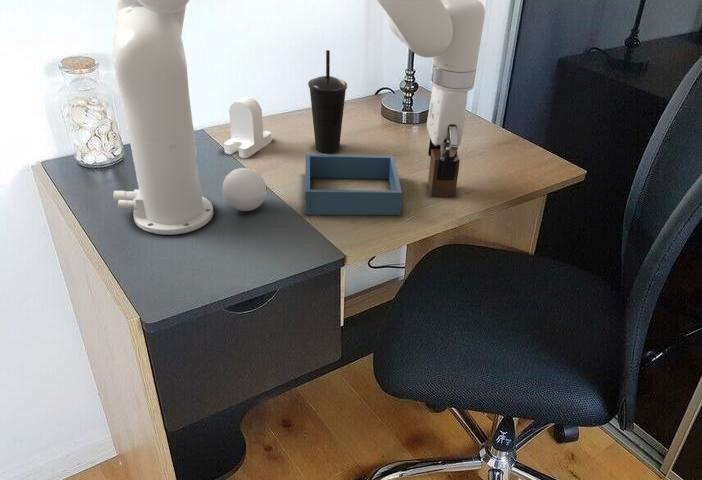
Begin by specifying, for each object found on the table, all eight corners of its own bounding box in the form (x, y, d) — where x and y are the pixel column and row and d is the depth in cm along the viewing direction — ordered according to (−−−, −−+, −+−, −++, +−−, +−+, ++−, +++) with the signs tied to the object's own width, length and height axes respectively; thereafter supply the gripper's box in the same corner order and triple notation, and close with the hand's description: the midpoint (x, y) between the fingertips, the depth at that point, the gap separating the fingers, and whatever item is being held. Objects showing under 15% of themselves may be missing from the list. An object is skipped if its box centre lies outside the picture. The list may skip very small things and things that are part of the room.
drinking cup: (348, 142, 138) (351, 47, 127) (342, 158, 132) (344, 58, 120) (313, 138, 139) (312, 42, 127) (305, 153, 132) (303, 54, 121)
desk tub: (305, 214, 113) (305, 191, 110) (306, 176, 125) (305, 154, 122) (400, 215, 115) (402, 192, 113) (392, 177, 127) (393, 156, 124)
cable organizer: (223, 152, 130) (218, 104, 124) (250, 135, 138) (247, 89, 132) (246, 158, 129) (242, 109, 123) (272, 140, 136) (270, 94, 130)
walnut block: (431, 196, 122) (435, 159, 117) (427, 184, 125) (431, 148, 121) (455, 196, 122) (460, 160, 118) (451, 185, 126) (455, 149, 122)
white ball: (274, 214, 112) (272, 175, 108) (232, 222, 109) (228, 183, 105) (254, 188, 119) (252, 151, 115) (214, 195, 116) (210, 157, 111)
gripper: (424, 59, 117) (414, 147, 127) (439, 92, 104) (427, 188, 113) (464, 61, 119) (452, 148, 128) (485, 95, 105) (469, 190, 115)
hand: (440, 167), depth 121 cm, fingers open, 9 cm apart
